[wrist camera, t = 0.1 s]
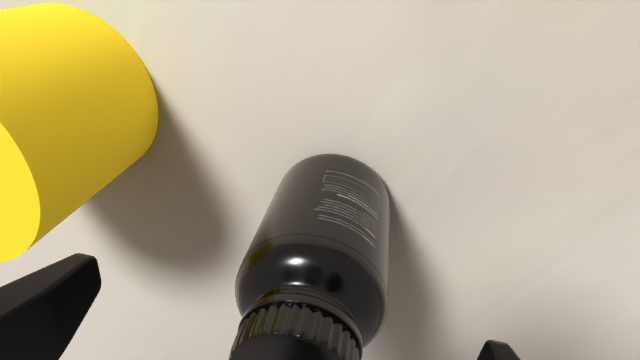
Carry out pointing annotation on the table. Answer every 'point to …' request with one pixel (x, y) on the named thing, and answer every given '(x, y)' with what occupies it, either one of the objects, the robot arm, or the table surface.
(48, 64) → the yellow toilet paper roll
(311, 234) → the supplement bottle
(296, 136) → the table surface
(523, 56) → the table surface
